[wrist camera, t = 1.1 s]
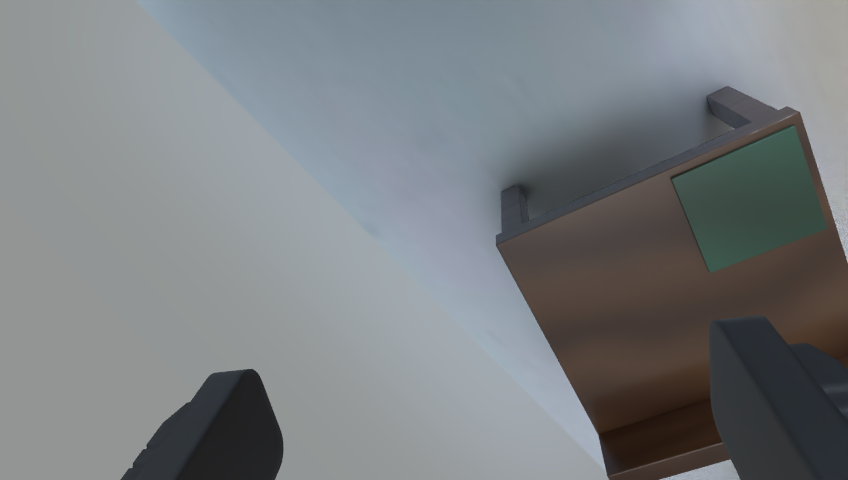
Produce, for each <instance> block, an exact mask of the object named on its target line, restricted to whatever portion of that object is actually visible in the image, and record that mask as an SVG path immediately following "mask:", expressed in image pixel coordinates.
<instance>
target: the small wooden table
mask: <svg viewBox="0 0 848 480" xmlns="http://www.w3.org/2000/svg"><path fill="white" fill-rule="evenodd" d="M707 100H708V102H709V105H710V108H711V110H712V113H713V115H714V116H716V117H717V118H719V119H721V120H722V121H724V122H725V123H727V124H728V125H730V126H731V127H733V128H734V129H735V130H733V131H731V132H728V133H726V134H724V135H722V136H719V137H717V138H715V139H713V140H710V141H708V142H706V143H704V144H701V145H699V146H697V147H695V148H692V149H690V150H688V151H686V152H683V153H681V154H679V155H677V156H674V157H672V158H670V159H668V160H665V161H663V162H661V163H658V164H656V165H654V166H652V167H649V168H647V169H645V170H643V171H640V172H638V173H636V174H634V175H631V176H629V177H627V178H625V179H622V180H620V181H618V182H616V183H613V184H611V185H609V186H607V187H604V188H602V189H600V190H598V191H595V192H593V193H591V194H589V195H586V196H584V197H582V198H580V199H577V200H575V201H573V202H571V203H568V204H566V205H564V206H562V207H559V208H557V209H555V210H553V211H550V212H548V213H546V214H543V215H541V216H539V217H537V218H534V219H532V220H530V221H529V216H528V209H527V201H526V198H525V196H524V194H523V192H522V190H521V188H520V186H519V185H518V184H517V185H515V186H513V187H510V188H508V189H506V190H504V191H502V192H501V225H502V233H501V234H498V235H496V246H497V248H498V250H499V252H500V254H501V256H502V257H503V259H504V261H505V263H506V265H507V267H508V269H509V270H510V272H511V274H512V276H513V278H514V280H515V281H516V283H517V285H518V287H519V289H520V291H521V293H522V294H523V296H524V298H525V300H526V302H527V304H528V306H529V307H530V309H531V311H532V313H533V315H534V317H535V319H536V320H537V322H538V324H539V326H540V328H541V330H542V331H543V333H544V335H545V337H546V339H547V341H548V343H549V344H550V346H551V348H552V350H553V352H554V354H555V356H556V357H557V359H558V361H559V363H560V365H561V367H562V368H563V370H564V372H565V374H566V376H567V378H568V380H569V381H570V383H571V385H572V387H573V389H574V391H575V393H576V394H577V396H578V398H579V400H580V402H581V404H582V405H583V407H584V409H585V411H586V413H587V415H588V417H589V418H590V420H591V422H592V424H593V426H594V428H595V430H596V431H597V433H598V435H599V440H600V445H601V449H602V454H603V458H604V463H605V467H606V472H607V476H608V478H609V480H659V479H663V478H666V477H670V476H673V475H677V474H680V473H684V472H687V471H691V470H695V469H698V468H702V467H705V466H709V465H712V464H716V463H719V462H723V461H726V460H730V459H731V458H730V456H729V454H728V452H727V450H726V448H725V446H724V444H723V442H722V440H721V438H720V435H719V433H718V430H717V427H716V424H715V421H714V417H713V412H712V407H711V399H710V358H709V327H710V323H711V321H712V320H719V319H728V318H737V317H747V316H756V315H763V316H765V317H766V318H767V319H768V320H769V321H770V323H771V324H772V325H773V326H774V328H775V329H776V330H777V332H778V333H779V334H780V335H781V337H782V338H783V339H784V340H785V342H786V343H787V344H798V343H809V344H810V345H812V346H814V347H816V348H817V349H819V350H821V351H823V352H824V353H826V354H828V355H830V356H831V357H833V358H835V359H837V360H838V361H840V362H841V363H842V364H843V365H844V366H845V368H846V369H847V370H848V263H847V260H846V257H845V253H844V250H843V247H842V244H841V241H840V238H839V234H838V231H837V228H836V225H835V222H834V219H833V215H832V212H831V209H830V206H829V203H828V200H827V196H826V193H825V190H824V187H823V184H822V181H821V177H820V174H819V171H818V168H817V165H816V161H815V158H814V155H813V152H812V149H811V146H810V142H809V139H808V136H807V133H806V130H805V127H804V123H803V120H802V117H801V114H800V112H799V111H796V110H794V109H792V108H790V107H785V108H782V109H780V110H777V109H775V108H773V107H770V106H768V105H766V104H764V103H762V102H760V101H758V100H756V99H754V98H752V97H750V96H748V95H745V94H743V93H741V92H739V91H737V90H735V89H733V88H731V87H729V86H727V87H725V88H723V89H721V90H718V91H716V92H714V93H712V94H710V95H708V96H707Z"/></svg>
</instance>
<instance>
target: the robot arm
mask: <svg viewBox="0 0 848 480" xmlns="http://www.w3.org/2000/svg"><path fill="white" fill-rule="evenodd" d="M709 358H710V399H711V407H712V412H713V417H714V421H715V424H716V427H717V430H718V433H719V435H720V438H721V440H722V442H723V444H724V446H725V448H726V450H727V452H728V454H729V456H730V458H731V460H732V463H733V465H734V467H735V469H736V471H737V473H738V475H739V477H740V479H741V480H848V370H847V369H846V368H845V366H844V365H843V364H842V363H841V362H840V361H838V360H837V359H835V358H833V357H831V356H830V355H828V354H826V353H824V352H823V351H821V350H819V349H817V348H816V347H814V346H812V345H810V344H809V343H798V344H787V343H786V342H785V340H784V339H783V338H782V337H781V335H780V334H779V333H778V332H777V330H776V329H775V328H774V326H773V325H772V324H771V323H770V321H769V320H768V319H767V318H766V317H765V316H763V315H756V316H747V317H737V318H728V319H719V320H712V321H711V323H710V327H709ZM282 458H283V438H282V433H281V430H280V427H279V425H278V422H277V420H276V417H275V415H274V412H273V409H272V407H271V404H270V401H269V399H268V396H267V393H266V391H265V388H264V385H263V383H262V380H261V378H260V376H259V374H258V373H257V372H256V371H255V370H253V369H247V370H237V371H228V372H218V373H213V374H211V375H210V376H209V377H208V378H207V379H206V381H205V382H204V384H203V385H202V387H201V388H200V389H199V391H198V392H197V393H196V395H195V396H194V398H193V399H192V400H191V402H189V403H186V404H185V405H184V406H183V407H181V408H180V409H179V410H178V411H177V412H175V413H174V414H173V415H172V416H171V417H169V418H168V419H167V420H166V421H165V422H163V424H162V425H161V426H160V428H159V429H158V430H157V432H156V433H155V434H154V436H153V437H152V438H151V440H150V441H149V442H148V444H147V449H144V450H142V452H141V453H140V454H139V456H138V457H137V458H136V460H135V461H134V462H133V468H129V469H128V470H127V472H126V473H125V474H124V476H123V477H122V479H121V480H275V478H276V475H277V473H278V471H279V469H280V466H281V463H282Z"/></svg>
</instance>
